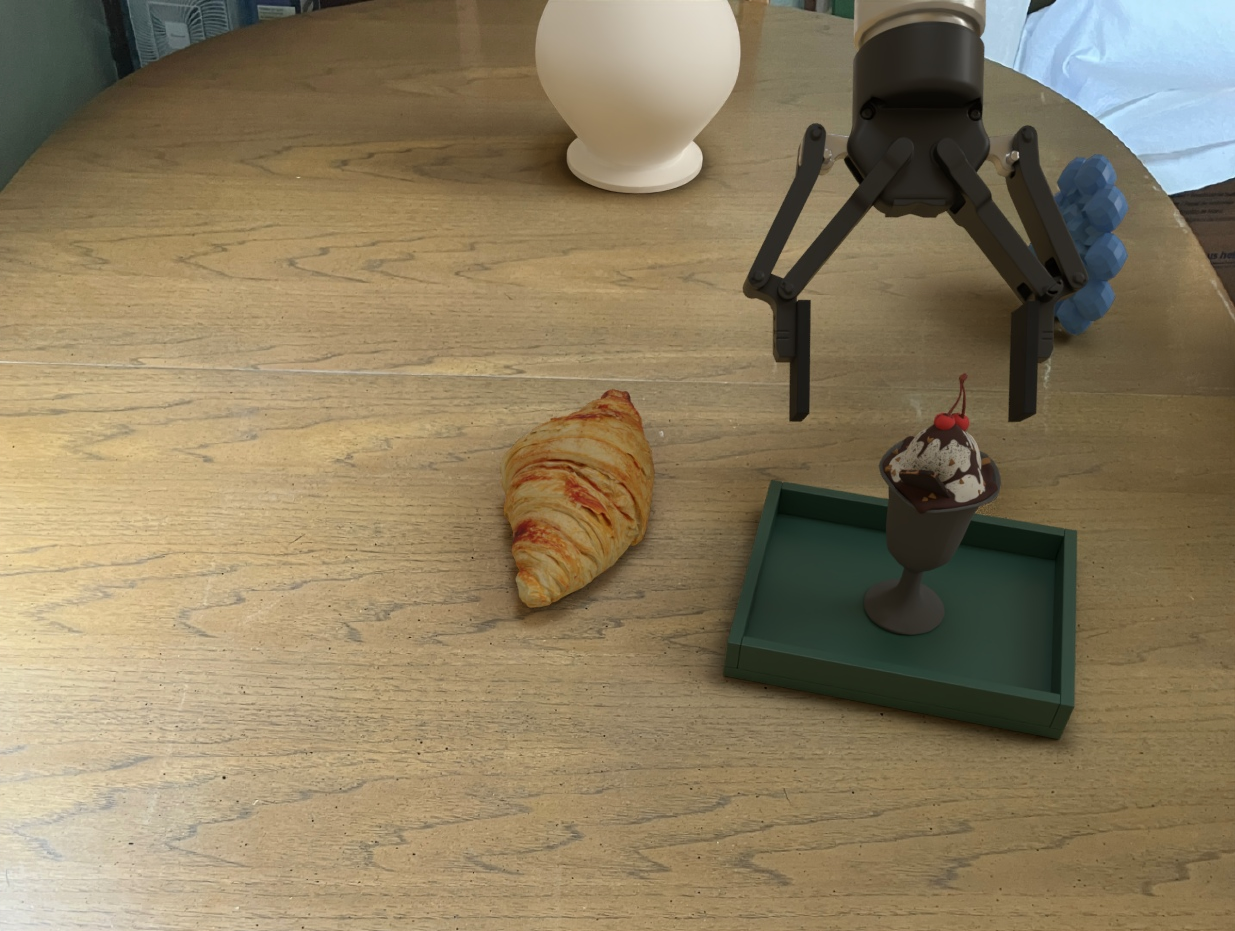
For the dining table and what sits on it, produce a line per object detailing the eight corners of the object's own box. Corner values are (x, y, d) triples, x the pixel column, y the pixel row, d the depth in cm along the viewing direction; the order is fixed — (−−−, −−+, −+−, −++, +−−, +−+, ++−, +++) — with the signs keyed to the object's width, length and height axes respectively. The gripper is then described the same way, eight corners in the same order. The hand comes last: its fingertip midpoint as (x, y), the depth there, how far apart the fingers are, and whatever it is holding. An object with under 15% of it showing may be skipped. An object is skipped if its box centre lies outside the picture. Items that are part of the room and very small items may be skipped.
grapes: (983, 281, 102) (1024, 130, 92) (1062, 277, 102) (1109, 127, 93) (1030, 360, 95) (1079, 205, 85) (1114, 355, 95) (1172, 201, 86)
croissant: (578, 670, 78) (639, 599, 71) (436, 591, 75) (487, 510, 69) (651, 464, 90) (708, 389, 84) (532, 390, 88) (582, 307, 82)
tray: (1064, 563, 80) (1077, 530, 78) (1059, 739, 70) (1075, 706, 68) (765, 513, 82) (770, 478, 80) (722, 675, 73) (726, 642, 71)
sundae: (925, 561, 78) (985, 349, 67) (977, 632, 74) (1049, 419, 63) (831, 582, 77) (874, 369, 65) (878, 655, 73) (934, 442, 61)
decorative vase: (499, 155, 114) (481, -178, 95) (639, 102, 122) (649, -216, 102) (628, 228, 106) (638, -119, 87) (770, 166, 114) (808, -165, 94)
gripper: (1100, 78, 76) (1088, 428, 79) (699, 74, 75) (699, 428, 78) (1157, 16, 69) (1142, 405, 71) (713, 10, 68) (712, 405, 70)
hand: (910, 418), depth 74 cm, fingers open, 13 cm apart
